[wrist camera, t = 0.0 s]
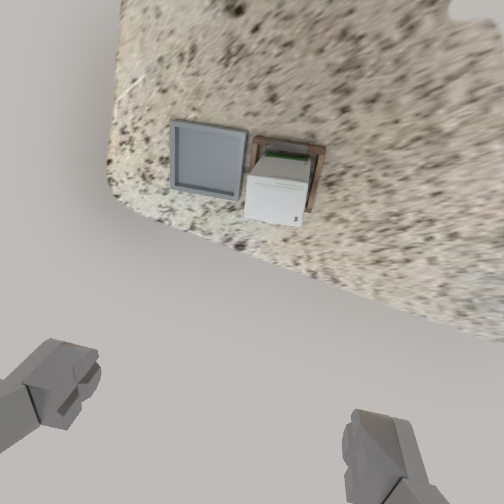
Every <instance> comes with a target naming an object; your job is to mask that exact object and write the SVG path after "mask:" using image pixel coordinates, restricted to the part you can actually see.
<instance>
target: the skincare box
mask: <svg viewBox="0 0 504 504" xmlns="http://www.w3.org/2000/svg"><path fill="white" fill-rule="evenodd" d="M310 166H311V157H309V156H301V155H294V154H285V153H277V152H270V151H265V152H264V154H263V155H262V156H261V158H260V159H259V161H258V162H257V163H256V165H255V166H254V168H253V169H252V170H251V172H250V173H249V174H248V176H247V184H246V194H245V205H244V218H245V219H252V220H257V221H263V222H267V223H269V224H273V225H275V224H282V225H289V226H295V227H301V226H302V221H303V216H304V210H305V204H306V198H307V191H308V183H309V175H310Z"/></svg>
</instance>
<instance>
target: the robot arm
mask: <svg viewBox="0 0 504 504" xmlns="http://www.w3.org/2000/svg"><path fill="white" fill-rule="evenodd" d="M98 357H99V356H98V351H97V350H96V349H92V348H88V347H84V346H80V345H76V344H72V343H68V342H65V341H60V340H56V339H52V338H50V339H48V340H46V341H44V342H43V343H42V344H41V345H40V346H39V347H38V348H37V349H36V350H35V351H34V352H33V353H31V354H30V355H29V356H28V357H27V358H26V359H25V360H24V361H23V362H22V363H21V364H20V365H19V366H18V367H17V368H16V369H15V370H14V371H13V372H12V373H11V374H10V375H9V376H8V377H6V378H5V379H4V380H2V379H0V453H1V452H3V451H5V450H6V449H7V448H9V447H10V446H12V445H13V444H15V443H16V442H18V441H19V440H21V439H22V438H24V437H25V436H26V435H28V434H29V433H31V432H32V431H34V430H35V429H37V428H38V427H40V424H41V425H45V426H50V427H54V428H59V429H63V430H68V428H69V427H70V425H71V424H72V423H73V421H74V420H75V418H76V417H77V416H78V414H79V413H80V411H81V410H82V407H81V406H82V402H83V401H84V400H86V399H88V398H89V397H91V396H92V394H93V393H94V391H95V390H96V388H97V386H98V383H99V381H100V377H101V367H100V366H99V365H98V363H97V362H96V360H97V359H98ZM351 421H352V422H351V423H349V424H347V425H346V427H345V430H344V434H343V439H342V453H343V459H344V461H345V462H346V464H347V465H348V469H347V471H346V473H345V475H344V477H345V486H346V498H347V502H349V503H353V504H449V502H448V501H447V500H446V499H445V498H444V496H443V495H442V494H441V493H440V491H439V490H438V489H437V487H436V486H434V485H430V484H429V481H428V477H427V474H426V471H425V467H424V464H423V461H422V458H421V454H420V451H419V448H418V445H417V441H416V438H415V435H414V432H413V428H412V425H411V424H410V422H409V421H407V420H403V419H398V418H394V417H389V416H387V415H383V414H378V413H372V412H368V411H364V410H359V409H355V410H354V411H353V413H352V415H351Z"/></svg>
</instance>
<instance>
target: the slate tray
mask: <svg viewBox="0 0 504 504" xmlns="http://www.w3.org/2000/svg"><path fill="white" fill-rule="evenodd" d="M247 138H248V131H245V130H239V129H233V128H227V127H221V126H214V125H208V124H202V123H196V122H190V121H184V120H178V119H175V120H171V121H170V189H173V190H179V191H184V192H190V193H195V194H201V195H206V196H212V197H217V198H223V199H228V200H233V201H238V200H239V199H240V197H241V189H242V181H243V172H244V163H245V155H246V146H247Z"/></svg>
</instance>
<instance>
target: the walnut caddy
mask: <svg viewBox="0 0 504 504" xmlns="http://www.w3.org/2000/svg"><path fill="white" fill-rule="evenodd" d="M259 145H265V146H269V148H270V149H276V150H282V151H288V152H294V153H300V154H306V155H307V153H313V154H318V158H317V162H316V167H315V171H314V175H313V180H312V184H311V188H310V193H309V197H308V201H307V202H306V204H305V210H304V212H308V213H311V210H312V206H313V202H314V198H315V193H316V189H317V185H318V181H319V177H320V173H321V168H322V164H323V160H324V156H325V152H326V149H325V147H323V146H316V145H310V144H304V143H298V142H292V141H286V140H280V139H274V138H268V137H262V136H255V137H254V138H253V144H252V152H251V160H250V168H249V173H250V172H251V170H252V169H253V168H254V166H255V165H256V163H257V160H258V153H259Z"/></svg>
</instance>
